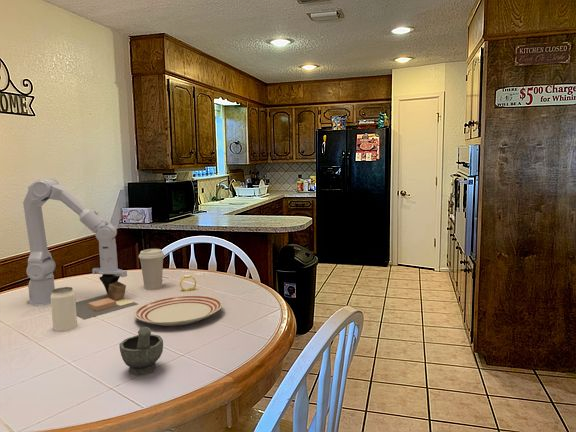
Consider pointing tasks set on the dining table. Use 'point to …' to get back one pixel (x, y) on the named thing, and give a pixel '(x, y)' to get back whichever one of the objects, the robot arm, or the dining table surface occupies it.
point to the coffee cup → (152, 268)
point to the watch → (187, 277)
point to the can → (63, 309)
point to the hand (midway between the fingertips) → (111, 294)
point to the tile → (102, 304)
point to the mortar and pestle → (141, 352)
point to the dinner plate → (178, 310)
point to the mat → (88, 313)
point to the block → (116, 291)
